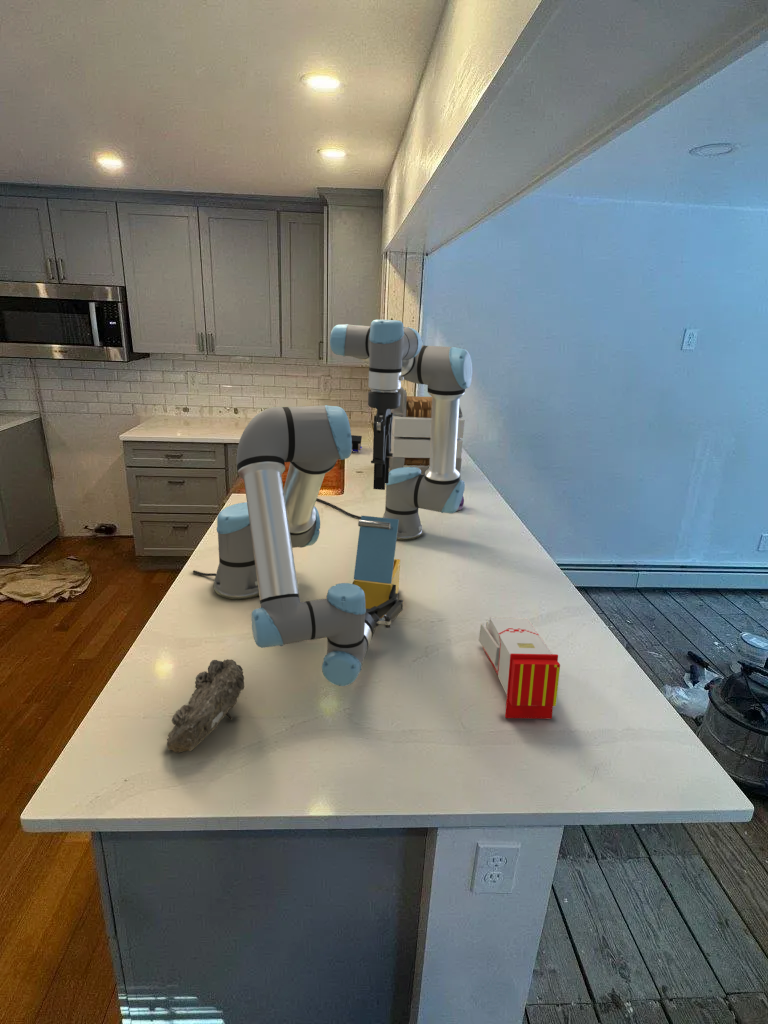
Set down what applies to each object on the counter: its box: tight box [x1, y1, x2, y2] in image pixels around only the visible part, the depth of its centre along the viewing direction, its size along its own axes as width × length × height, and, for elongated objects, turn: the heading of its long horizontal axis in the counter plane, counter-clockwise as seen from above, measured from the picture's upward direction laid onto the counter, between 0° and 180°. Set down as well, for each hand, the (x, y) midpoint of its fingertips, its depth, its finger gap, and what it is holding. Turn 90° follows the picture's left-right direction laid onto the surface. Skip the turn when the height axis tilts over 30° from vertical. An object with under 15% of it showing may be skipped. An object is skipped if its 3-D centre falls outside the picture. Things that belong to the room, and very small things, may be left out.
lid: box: [353, 515, 399, 584], centre depth 139 cm, size 16×10×8 cm
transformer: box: [389, 386, 465, 480], centre depth 268 cm, size 34×33×41 cm
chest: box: [353, 558, 401, 619], centre depth 151 cm, size 16×10×10 cm, turn 170°
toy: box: [478, 616, 561, 720], centre depth 122 cm, size 12×13×30 cm
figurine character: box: [351, 434, 363, 454], centre depth 310 cm, size 7×8×15 cm
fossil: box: [166, 658, 245, 754], centre depth 106 cm, size 22×10×15 cm
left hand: (374, 587), depth 146 cm, fingers closed on chest, 9 cm apart
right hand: (381, 485), depth 140 cm, fingers open, 5 cm apart
